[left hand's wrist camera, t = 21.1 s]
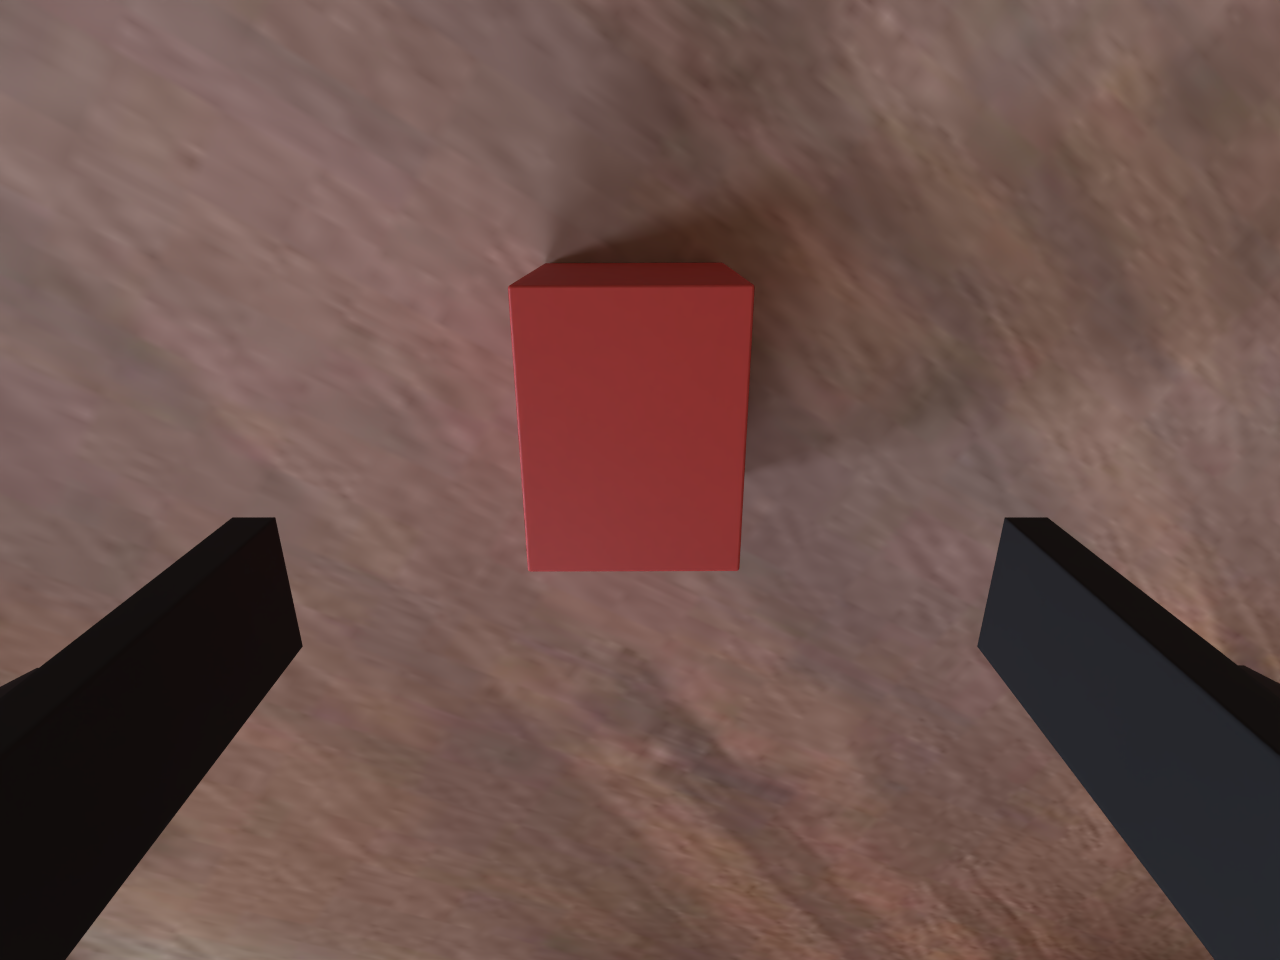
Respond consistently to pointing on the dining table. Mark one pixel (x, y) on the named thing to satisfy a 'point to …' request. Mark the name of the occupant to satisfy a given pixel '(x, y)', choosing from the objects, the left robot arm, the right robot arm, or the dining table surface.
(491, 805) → the dining table surface
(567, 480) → the brick
